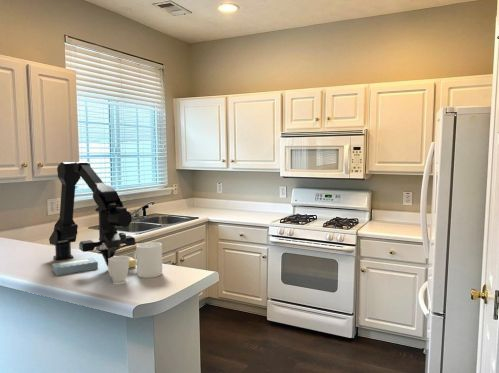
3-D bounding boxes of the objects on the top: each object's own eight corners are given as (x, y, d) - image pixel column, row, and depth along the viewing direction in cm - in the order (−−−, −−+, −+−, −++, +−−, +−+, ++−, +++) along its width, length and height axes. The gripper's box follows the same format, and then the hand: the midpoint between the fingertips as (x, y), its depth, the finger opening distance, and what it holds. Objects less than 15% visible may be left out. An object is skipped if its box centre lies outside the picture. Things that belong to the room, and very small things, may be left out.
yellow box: (109, 266, 146) (108, 259, 145) (130, 263, 150) (130, 256, 150) (114, 270, 141) (113, 263, 141) (135, 266, 146) (135, 259, 145)
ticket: (52, 270, 142) (52, 263, 141) (92, 264, 150) (92, 257, 150) (56, 275, 136) (56, 268, 135) (97, 268, 144) (97, 261, 144)
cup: (115, 287, 123) (114, 262, 123) (99, 280, 130) (98, 257, 129) (134, 281, 128) (134, 257, 128) (118, 275, 135) (118, 253, 134)
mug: (144, 268, 144) (143, 239, 143) (167, 273, 137) (166, 243, 137) (125, 274, 137) (124, 244, 136) (148, 280, 130) (148, 248, 129)
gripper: (86, 230, 129) (87, 276, 131) (140, 224, 140) (141, 267, 142) (78, 225, 138) (79, 268, 139) (129, 220, 149) (130, 260, 151)
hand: (108, 266), depth 143 cm, fingers closed
